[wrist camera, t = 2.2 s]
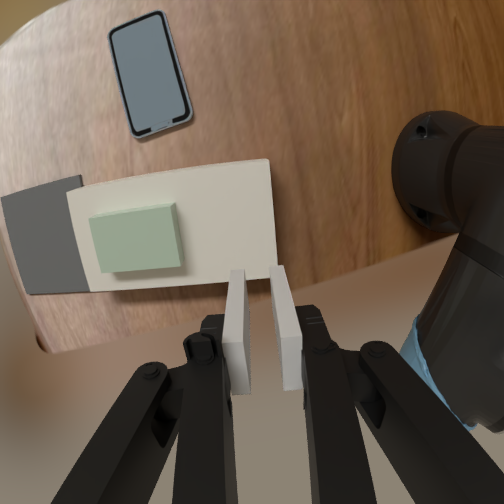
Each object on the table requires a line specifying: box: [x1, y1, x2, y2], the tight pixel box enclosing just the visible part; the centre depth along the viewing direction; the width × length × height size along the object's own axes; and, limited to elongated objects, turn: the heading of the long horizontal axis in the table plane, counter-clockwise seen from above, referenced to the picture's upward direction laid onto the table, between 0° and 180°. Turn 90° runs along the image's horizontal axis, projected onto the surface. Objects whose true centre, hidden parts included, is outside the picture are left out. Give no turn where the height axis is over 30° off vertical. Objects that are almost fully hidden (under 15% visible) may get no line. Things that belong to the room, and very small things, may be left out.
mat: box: [1, 175, 90, 294], centre depth 35 cm, size 15×15×1 cm
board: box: [66, 159, 278, 292], centre depth 33 cm, size 22×12×4 cm, turn 96°
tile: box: [88, 202, 184, 273], centre depth 30 cm, size 9×6×2 cm, turn 96°
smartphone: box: [107, 10, 193, 138], centre depth 29 cm, size 7×1×15 cm
